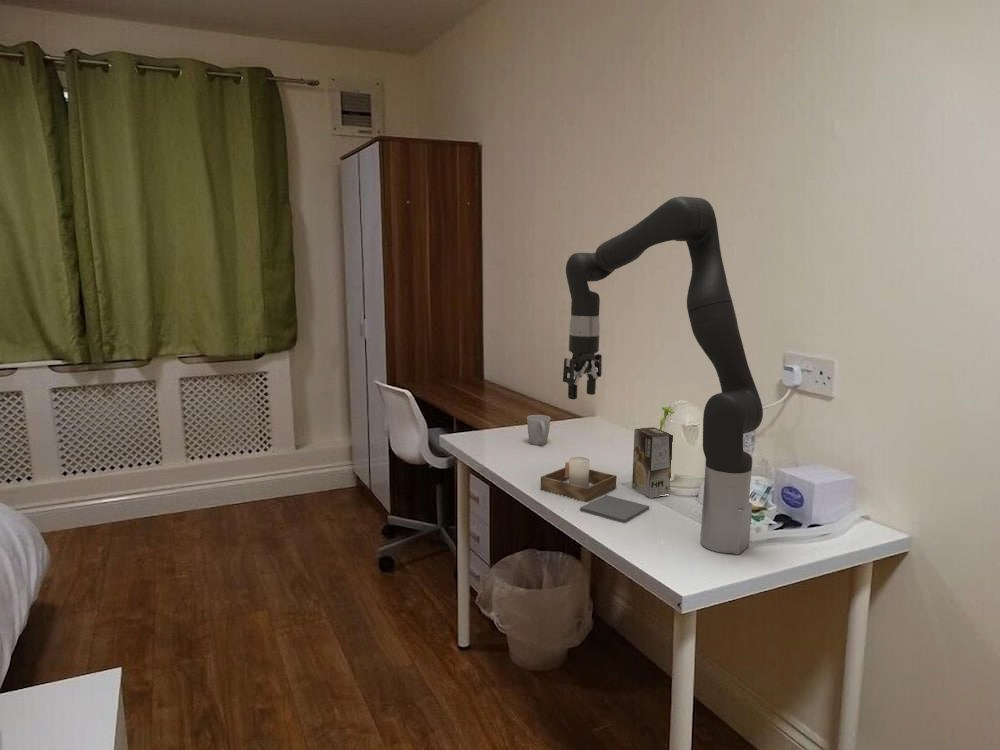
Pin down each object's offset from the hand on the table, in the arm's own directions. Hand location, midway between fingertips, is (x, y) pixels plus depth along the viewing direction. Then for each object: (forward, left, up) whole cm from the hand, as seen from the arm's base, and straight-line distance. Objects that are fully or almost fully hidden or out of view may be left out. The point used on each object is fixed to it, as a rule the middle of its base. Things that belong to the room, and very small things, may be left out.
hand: (581, 396), depth 182 cm
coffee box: (-15, -11, -25) cm, 31 cm away
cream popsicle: (0, 0, -25) cm, 25 cm away
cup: (+34, -29, -25) cm, 51 cm away
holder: (0, 0, -25) cm, 25 cm away
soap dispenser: (-13, -23, -25) cm, 36 cm away
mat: (-15, +7, -25) cm, 30 cm away
